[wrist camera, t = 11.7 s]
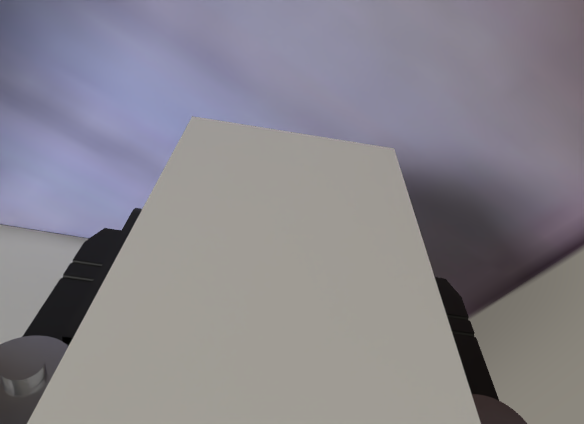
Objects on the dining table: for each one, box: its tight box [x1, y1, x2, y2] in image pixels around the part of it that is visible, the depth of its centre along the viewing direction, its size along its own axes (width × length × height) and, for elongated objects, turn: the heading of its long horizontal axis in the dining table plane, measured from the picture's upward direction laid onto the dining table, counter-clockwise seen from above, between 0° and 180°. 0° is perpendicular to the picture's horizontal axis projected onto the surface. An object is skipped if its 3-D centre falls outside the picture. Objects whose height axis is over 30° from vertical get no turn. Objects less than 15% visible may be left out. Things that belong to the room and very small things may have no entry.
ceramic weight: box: [27, 116, 481, 424], centre depth 9 cm, size 4×4×8 cm
